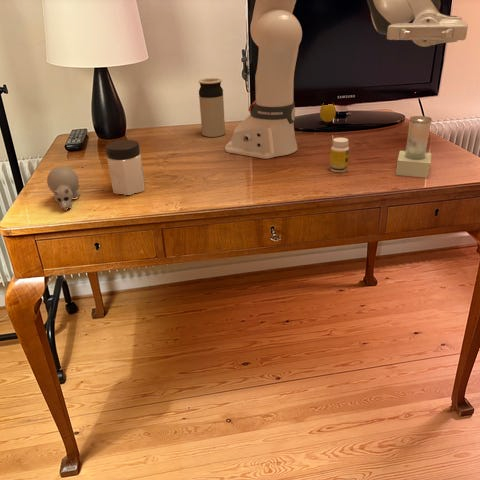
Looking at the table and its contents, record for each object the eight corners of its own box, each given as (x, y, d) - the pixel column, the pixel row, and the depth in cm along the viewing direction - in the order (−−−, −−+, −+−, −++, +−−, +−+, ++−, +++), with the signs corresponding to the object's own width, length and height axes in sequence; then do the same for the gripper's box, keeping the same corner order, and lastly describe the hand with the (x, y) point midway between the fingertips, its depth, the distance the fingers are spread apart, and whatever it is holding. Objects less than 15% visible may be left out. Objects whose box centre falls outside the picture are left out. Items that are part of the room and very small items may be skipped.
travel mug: (228, 135, 157) (225, 80, 148) (206, 138, 155) (201, 83, 146) (220, 129, 164) (217, 76, 155) (199, 132, 161) (195, 79, 152)
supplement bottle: (347, 173, 124) (349, 142, 120) (329, 172, 125) (331, 142, 120) (347, 166, 128) (349, 137, 124) (330, 166, 129) (331, 136, 125)
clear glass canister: (403, 158, 120) (409, 120, 115) (405, 152, 124) (410, 115, 119) (425, 160, 118) (431, 121, 113) (425, 154, 122) (432, 116, 118)
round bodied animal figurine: (52, 221, 111) (41, 197, 104) (53, 186, 118) (43, 161, 111) (83, 217, 112) (74, 193, 105) (82, 183, 119) (74, 158, 113)
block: (395, 174, 121) (397, 160, 119) (397, 164, 128) (399, 150, 126) (427, 177, 119) (430, 163, 117) (428, 167, 125) (431, 153, 123)
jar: (105, 193, 118) (97, 148, 112) (123, 181, 124) (116, 138, 118) (135, 197, 115) (128, 151, 109) (152, 185, 121) (146, 141, 115)
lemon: (317, 121, 168) (318, 99, 164) (332, 120, 168) (334, 98, 164) (321, 125, 163) (322, 103, 159) (337, 124, 163) (338, 102, 159)
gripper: (390, 17, 132) (385, 21, 121) (468, 16, 126) (470, 21, 115) (387, 41, 135) (382, 47, 124) (463, 41, 129) (465, 48, 118)
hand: (425, 34), depth 119 cm, fingers open, 8 cm apart
